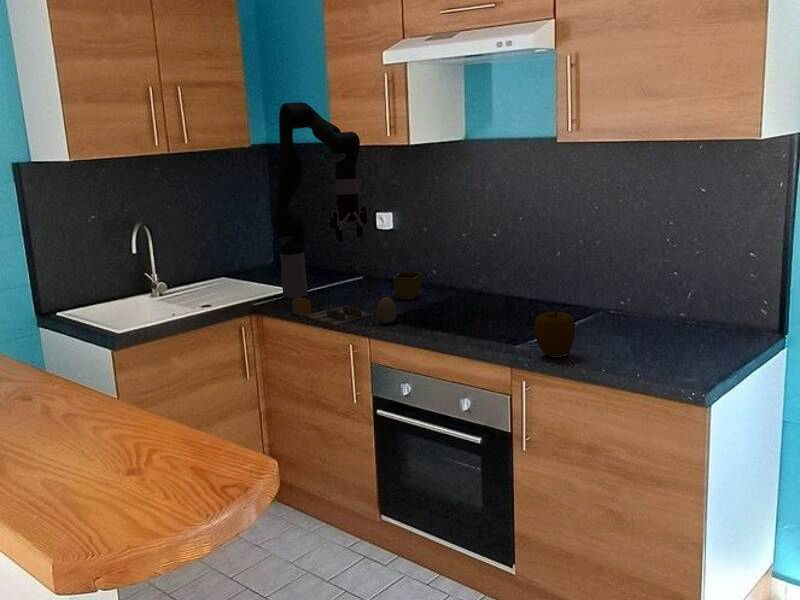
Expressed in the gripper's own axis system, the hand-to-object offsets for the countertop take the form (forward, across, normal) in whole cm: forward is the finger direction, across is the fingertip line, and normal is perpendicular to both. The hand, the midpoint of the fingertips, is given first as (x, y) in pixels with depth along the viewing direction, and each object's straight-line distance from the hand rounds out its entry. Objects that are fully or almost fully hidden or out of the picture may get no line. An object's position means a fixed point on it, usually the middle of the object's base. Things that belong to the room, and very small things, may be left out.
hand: (349, 239), depth 278 cm
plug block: (+27, +12, -15) cm, 33 cm away
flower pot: (+27, -27, -2) cm, 38 cm away
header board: (+27, +6, -1) cm, 27 cm away
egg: (+26, +1, +20) cm, 33 cm away
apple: (+25, -6, +85) cm, 89 cm away
